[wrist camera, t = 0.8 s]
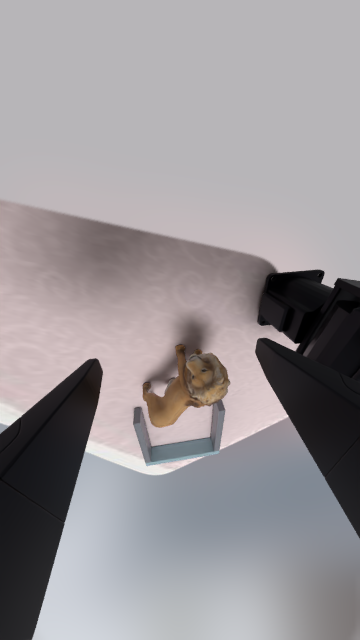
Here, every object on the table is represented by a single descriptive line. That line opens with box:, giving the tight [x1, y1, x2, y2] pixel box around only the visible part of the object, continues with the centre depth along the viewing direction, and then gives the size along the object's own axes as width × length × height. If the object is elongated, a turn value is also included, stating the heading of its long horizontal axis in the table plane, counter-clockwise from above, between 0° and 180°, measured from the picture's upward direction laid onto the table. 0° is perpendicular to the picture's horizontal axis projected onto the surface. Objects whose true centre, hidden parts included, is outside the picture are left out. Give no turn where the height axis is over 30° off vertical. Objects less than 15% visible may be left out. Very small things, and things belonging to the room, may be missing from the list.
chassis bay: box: [133, 399, 225, 466], centre depth 31 cm, size 14×14×2 cm
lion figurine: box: [143, 345, 230, 428], centre depth 21 cm, size 15×5×9 cm, turn 151°
